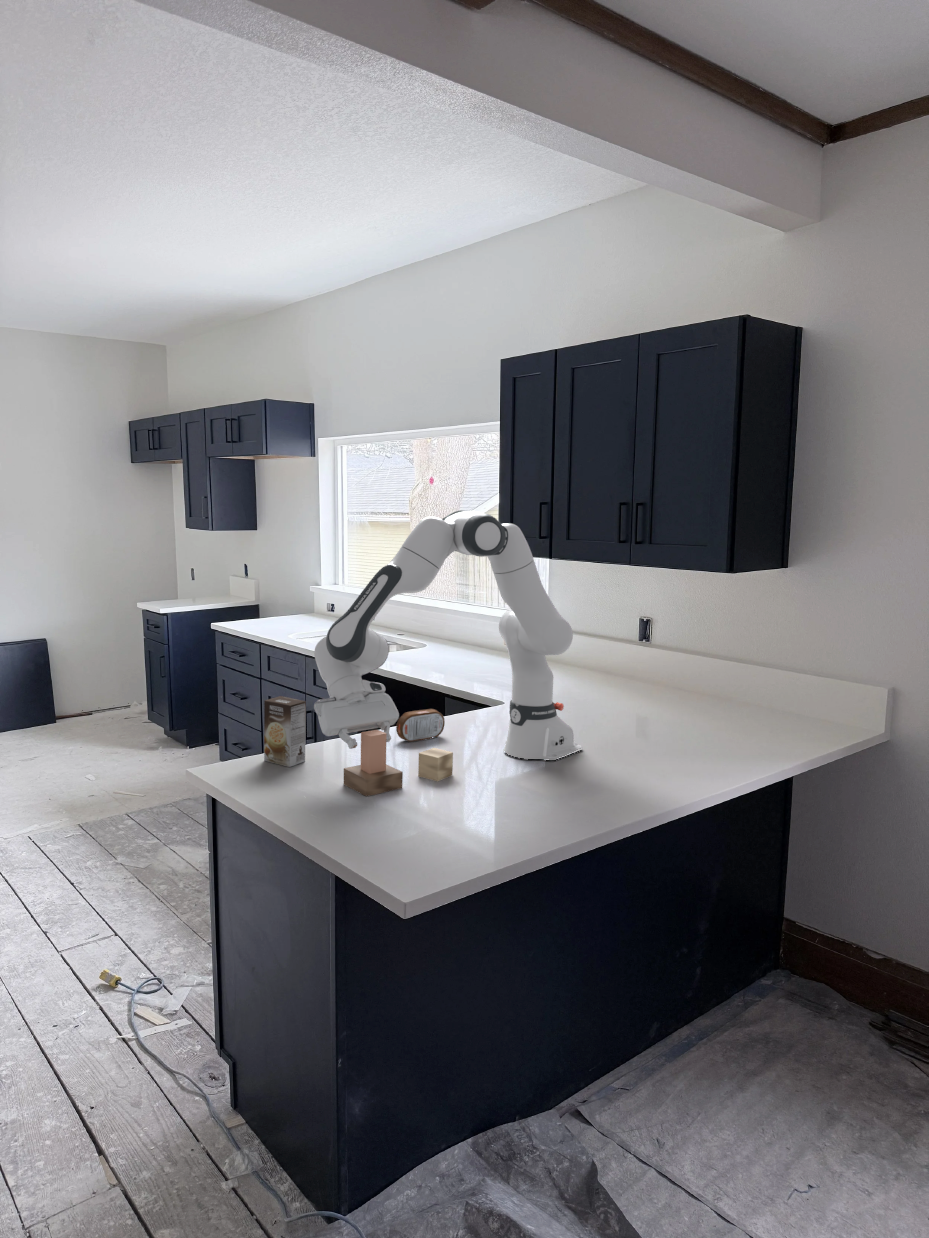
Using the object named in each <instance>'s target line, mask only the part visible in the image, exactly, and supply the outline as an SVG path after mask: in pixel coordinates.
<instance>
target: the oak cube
mask: <svg viewBox="0 0 929 1238" xmlns="http://www.w3.org/2000/svg"><path fill="white" fill-rule="evenodd" d="M453 765H454V752H453V751H448V750H446V749H440V748H437V747H432V748H429V749H427V750H423V751H421V752H418V768H417V769H418V772H417V773H418V777H419V778H423V779H428V780H430V779H431V781H434V782H440V781H441V780H444V779H447V778H450V777H452V776H453V770H454V768H453ZM449 776H450V777H449Z"/></svg>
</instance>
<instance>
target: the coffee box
mask: <svg viewBox="0 0 929 1238" xmlns="http://www.w3.org/2000/svg"><path fill="white" fill-rule="evenodd" d="M263 705H264V708H263V709H264V711H263V712H264V717H263V718H264V721H263V724H264V725H263V726H264V728H263V729H264V731H263V732H264V733H263V736H264V738H263V740H264V741H263V745H264V746H263V751H264V752H263V755H264V757H263V760H264V762H268V763H273V764H276V765H279V766H280V765H281V766H282V767H283V766H284V767H287V768H291V767H294V766H297V765H299V764H301V763H304V762H306V736H307V735H306V734H307V733H306V732H307V731H306V729H307V728H306V726H307V725H306V724H307V723H306V722H307V721H306V720H307V717H306V716H307V715H306V714H307V700H300V699H297V698H292V697H288V696H283V695H279V696H276V697H272V698H268V699H265V700H264V703H263Z"/></svg>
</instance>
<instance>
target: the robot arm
mask: <svg viewBox="0 0 929 1238" xmlns="http://www.w3.org/2000/svg"><path fill="white" fill-rule="evenodd" d="M454 552H458V553H460V554H463V555H465V556H466V555H467V556H475V557H479V558H481V557H482V558H483V557H484V558H485V557H487V559H488V561H489V563H490V566H491V567H490V568H491V570H492V573H493V576H494V579H495V581H496V584H497V588H498V591H499V594H500V597H501V599H502V601H503V602H504V603H505V604H506V605H507V606H508V607H509V610H507V611H506V612H504V613H503V614H502V615H501V617H500V620H499V623H498V632H499V634H500V637H502V639H503V641H504V643H505V646H506V649H507V652H508V657H509V658H508V659H509V663H510V668H511V699H510V701H509V712H508V713H509V723H508V724H509V725H508V730H507V736H506V740H505V743H504V749H503V752H504V751H505V752H506V753H507V754H509V755H511V756H510V757H512V756H514V757H513V758H515V757H518V758H517V759H520V758H524V759H523V760H528V759H549V760H555V759H557V758H559V757H562V756H565V755H567V754H569V753H572V752H574V751H576V750H578V749H581V748H582V749H583V747H582V745H581V744H579V743H578V742H576V741H575V737H574V735H575V734H574V730H573V728H572V727H571V726H570V724H568V723H567V722H566V721H564V720H563V719H562V718H561V717H560V716H559V715H558V713H557V710H558V711H563V710H564V707H565V706H564V703H560V702H557V701H556V702H554V696H553V695H554V673H553V670H552V669H551V667H550V666H549V664H548V660H547V657H546V656H559V655H562V654H564V653H565V652H567V651H568V650H569V649H570V646H571V644H572V642H573V637H574V633H573V632H574V631H573V627H572V626H571V624H570V623H569V622H568V621H567V620H566V619H565V618H564V617H563V616H562V615H561V614H560V612H559V611H558V609H557V608H556V607H555V604H554V603H553V602H552V600H551V598H550V597H549V595H548V593H547V592H546V590H545V587H544V585H543V583H542V581H541V580H542V579H541V578H540V574H539V571H538V569H537V566H536V562H535V558H534V557H533V553H532V551H531V547H530V546H529V542H528V541H527V540H526V537H525V535H524V533H523V531H522V530H521V528H520V526H518V525H516V524H514V523H511V522H509V523H501V522H500V520H498V519H497V518H496V517H495V516H493V515H491V514H489V513H486V512H480V511H475V510H468V511H465V510H457V511H453V512H451V513H449V514H448V515H446V516H444V517H443V518H440V517H438V516H437V517H436V516H427V517H424V518H422V520H420V521H419V522H418V524H417V525H416V526H414V528H413V529H412V531H411V532H410V533H409V535H408V536H407V537H406V539H405V540H404V542H403V543H402V545H401V546H400V548H399V549H398V551H397V553H396V554H395V555H394V556H393V558H392V559H391V560H390V561H389V563H387V564H386V565H384V566H383V567H381V568H380V569H379V570H378V571H377V572H376V573H375V574H374V575H373V577H372V578H371V579H370V580H369V582H368V583H367V584H366V586H364V587H365V588H363V590H362V591H361V592H360V594H359V595H358V597H356V599H355V600H354V601H353V603H352V605H350V607H349V608H348V609H347V610H346V611H345V613H344V614H343V615H341V616H340V617H339V618H338V619H336V620H335V621H334V623H333V622H332V625H330V627H329V629H328V631H327V634H326V636H324V637H323V638H321V639H320V640H319V641H318V642H317V644H316V645H315V647H314V652H313V653H314V660H315V663H316V666H317V669H318V671H319V674H320V677H321V679H322V681H323V682H324V683H325V684H326V688H327V689H326V691H327V692H328V693H327V694H328V695H329V697H328V698H320V699H317V701H315V702H314V705H313V709H314V711H315V713H316V715H317V718H318V722H319V727H320V729H321V732H322V734H323V735H325V737H331V736H332V737H333V736H336V735H337V736H338V737H339V739H341V740H342V741H343V742H345V743H346V744H347V747H348V749H350V750H353V749H356V748H357V747H358V742H357V739H356V738H352V737H351V736H350V735H349V733H355V732H361V731H362V732H363V731H366V730H368V731H369V730H374V729H378V728H380V731H383V732H384V733H387V736H386V743H389V742H390V741H391V739H392V736H391V735H390V728H391V726H394V725H395V724H396V722H398V720H399V718H400V713H399V710H398V709H397V706H396V704H395V702H394V701H393V698H392V697H391V696H390V695H389V694H388V693H386V686H385V685H384V684H383V683H380V682H375V681H369V680H366V679H363V678H362V676H364V675H367V674H369V673H371V672H374V671H375V670H378V669H379V668H381V667H382V666H383V665H384V664H385V663H386V661H387V659H388V656H389V652H390V648H389V643H388V641H387V639H386V638H385V637H384V636H383V635H381V634H380V633H378V632H377V631H374V630H372V629H370V625H371V624H372V622H373V621H374V619H375V618H376V617H377V615H378V614H379V613H380V612H381V610H382V609H383V608H384V607H385V605H386V604H387V602H388V601H390V599H392V598H393V597H396V596H397V595H401V594H416V593H420V592H423V591H425V590H426V589H427V588H428V587H429V586H430V585H431V584H432V582H433V581H434V580H435V578H436V577H437V575H438V574H439V572H440V570H441V568H442V566H443V565H444V563H445V561H446V559H447V558H448V557H449V556H450V555H452V553H454ZM505 744H506V745H505ZM507 754H506V755H507ZM509 755H508V756H509Z"/></svg>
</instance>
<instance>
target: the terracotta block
mask: <svg viewBox="0 0 929 1238" xmlns="http://www.w3.org/2000/svg"><path fill="white" fill-rule="evenodd" d="M386 736H387V733H384V731H383V730H379V729H371V730H368V731H366V730H365V731H362V732H361V731H360V765H361V770H363V771H365V772H367V773H369V774H372V773H376V772H381V771H386V764H387V742H386Z"/></svg>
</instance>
